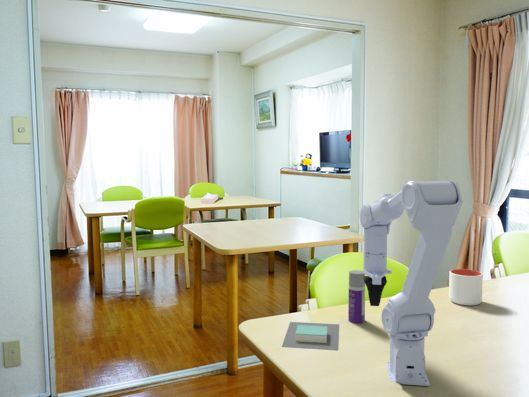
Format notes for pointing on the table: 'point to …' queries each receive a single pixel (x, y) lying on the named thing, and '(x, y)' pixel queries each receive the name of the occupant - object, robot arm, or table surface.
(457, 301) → the cup
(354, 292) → the container
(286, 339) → the mat
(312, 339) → the tile
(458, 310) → the table surface
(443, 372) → the table surface
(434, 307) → the robot arm
